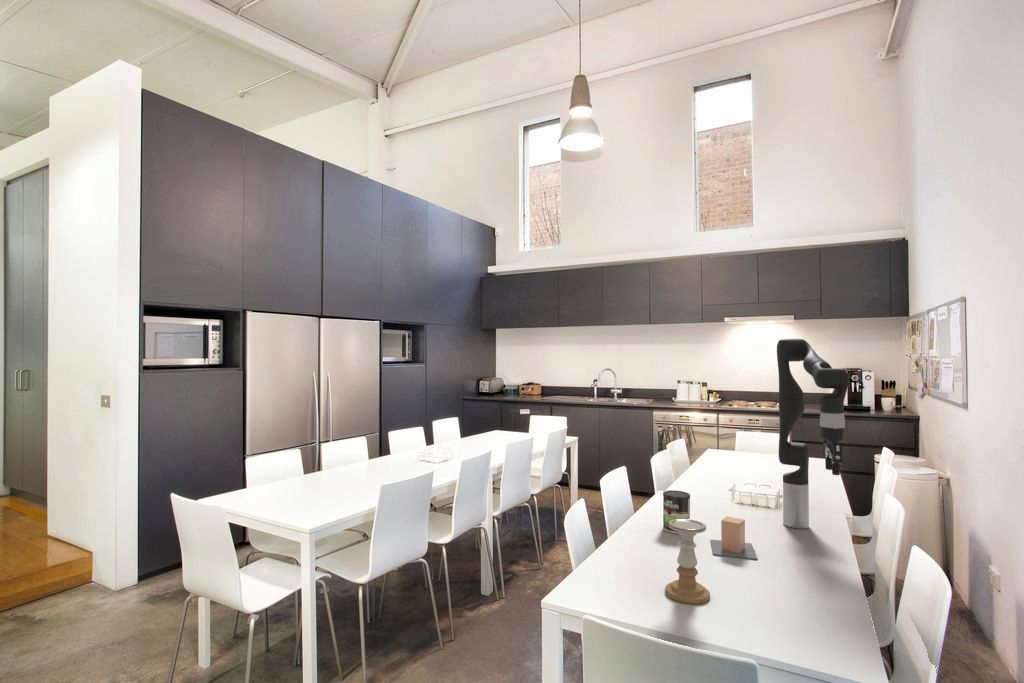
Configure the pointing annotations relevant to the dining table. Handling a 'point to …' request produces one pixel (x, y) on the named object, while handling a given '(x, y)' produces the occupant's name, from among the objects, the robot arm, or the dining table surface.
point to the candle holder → (687, 565)
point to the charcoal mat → (745, 554)
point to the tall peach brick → (733, 534)
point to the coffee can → (675, 507)
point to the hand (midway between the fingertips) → (832, 472)
